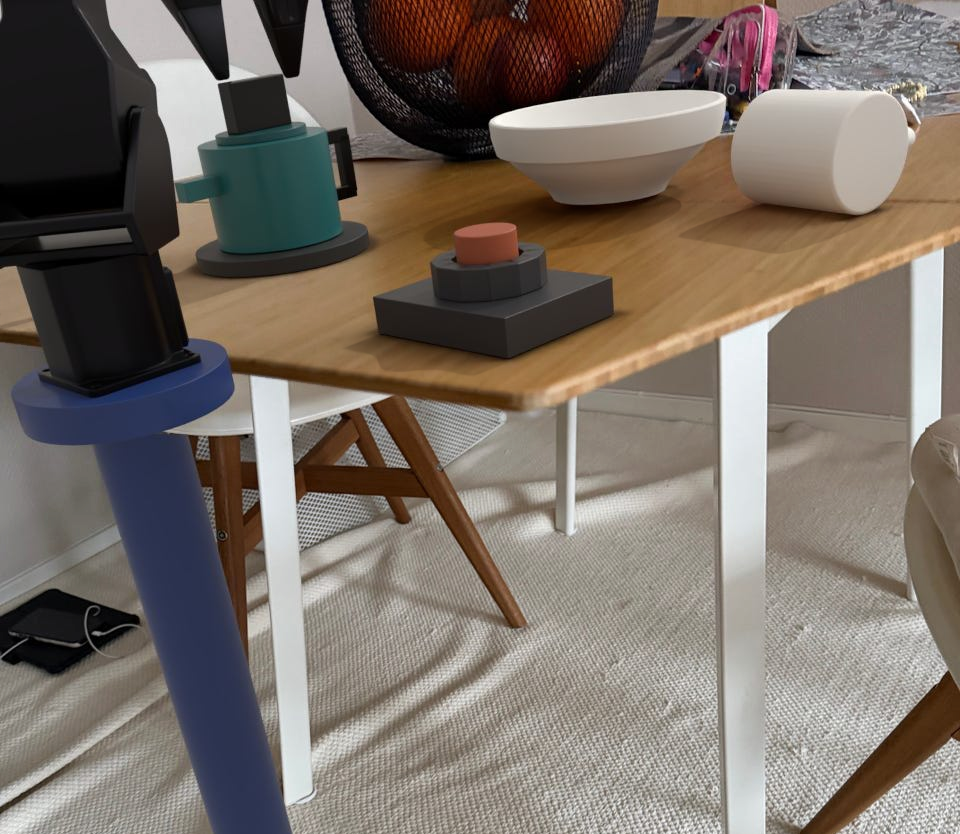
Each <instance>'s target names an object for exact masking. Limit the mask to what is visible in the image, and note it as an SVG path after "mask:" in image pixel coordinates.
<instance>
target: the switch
mask: <svg viewBox="0 0 960 834" xmlns="http://www.w3.org/2000/svg"><path fill="white" fill-rule="evenodd" d="M453 241H454V249H455V251H456V259H457V263H458V264H466V265H472V264H489V263H494V262H500V261H506V260H510V259H513V258H516V257H519V252H518V242H519V241H518V231H517V226H516V225H515V224H513V223H510V222H486V223H478V224H472V225H467V226H465V227H462V228H459V229H457V230H455V231H454V232H453Z"/></svg>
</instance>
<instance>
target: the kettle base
mask: <svg viewBox="0 0 960 834" xmlns="http://www.w3.org/2000/svg"><path fill="white" fill-rule="evenodd" d="M341 221H342V227H343V231H342V232H341V233H340V234H339V235H337V236H335V237H333V238H331V239H329V240H326V241H323V242H320V243H316V244H312V245H308V246H304V247H299V248H294V249H288V250H282V251H275V252H265V253H249V254H241V253H229V252H225V251H222V250H221V249H220V247H219V243H218V238H217V239H215V240H212V241H209V242H207V243H206V244H204V245H202V246H200V247H199V248H198V249H197V250H196V251H195V259H196V264H197V267H198V270H199V271H200V273H202V274H204V275H207V276H212V277H219V278H254V277H255V278H256V277H266V276H277V275H284V274H289V273H290V274H291V273H296V272H301V271H307V270H311V269H316V268H320V267H324V266H329V265H332V264H335V263H338V262H341V261H344V260H347V259H350V258H351V257H355V256H357V255H359V254H361V253H362V252H364V251H365V250H367V249H368V248H369V247H370V243H371V241H370V235H369V234H370V233H369V229H368V226H367V225H365V224H364V223H361V222H357V221H352V220H341Z"/></svg>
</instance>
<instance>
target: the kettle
mask: <svg viewBox="0 0 960 834" xmlns="http://www.w3.org/2000/svg"><path fill="white" fill-rule="evenodd" d="M217 90H218V94H219V98H220V99H219V100H220V103H221V104H220V105H221V108H222V112H223V117H224V122H225V126H226V130H225V131H222V132H219V133H216V134H215V136H214V138H215V139H211V140H209V141H205V142H203V143H200V144H199V145H197V147H196V149H197V152H198V157H199V161H200V167H201V169H202V170H201V171H202V176H198V177H193V178H189V179H184V180H180V181H174V187H175V193H176V197H177V200H178V203H181V204H192V203H196V202H200V201H203V200H207V199H208V202H209V206H210V211H211V215H212V220H213V224H214V230H215V234H216V237H217V239H218V243H219V247H220V249H221V250H222V251H225V252H229V253H241V254H249V253H265V252H275V251H282V250H288V249H294V248H299V247H304V246H308V245H312V244H316V243H320V242H323V241H326V240H329V239H331V238H333V237H335V236H337V235H339V234H340V233H341V232H342V231H343V227H342V221H343V220H342V215H341V210H340V203H339V202H340V201H344V200H349V199H351V198H354V197H358V184H357V177H356V171H355V164H354V159H353V152H352V145H351V139H350V134H349V131H348V127H347V126H338V127H333V128H329V129H327V128H325V127H322V126H307V124H306V122H304V121H292V116H291V111H290V104H289V100H288V94H287V89H286V83H285V77H284V75H283V73H270V74H263V75H258V76H252V77H246V78H242V79H241V78H240V79H236V80H230V81H224V82H219V83H217ZM331 145H333V146H334V153H335V159H336V166H337V170H338V177H339V184H340V185H336V178H335V173H334V168H333V163H332V162H333V161H332V156H331V149H330V146H331Z"/></svg>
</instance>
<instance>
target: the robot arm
mask: <svg viewBox="0 0 960 834" xmlns="http://www.w3.org/2000/svg"><path fill="white" fill-rule="evenodd" d="M160 1H161V2H162V4H163V5H164V7H165V8H166V9H167V11H168V13H170V15H171V17H173V19H174V20H175V21H176V23H177V24H178V25H179V27H180V28H181V30H182V32H183V33H184V34H185V36H186V38H187V39H188V40H189V41H190V43H191V45H192V46H193V48H194V49H195V51H196V52H197V54H198V55H199V57H200V58H201V59H202V61H203V63H204V64H205V65H206V67H207V68H208V70H209V71H210V73H211V75H212V76H213V78H214V79H215V80H216V81H218V82H219V81H227V80H229V79H230V77H231V73H230V58H229V50H228V49H229V48H228V42H227V34H226V27H225V19H224V18H225V17H224V12H223V3H222V0H160ZM309 1H310V0H252V2H253V4H254V7H255V9H256V11H257V14H258V16H259V20H260V22H261V25H262V27H263V29H264V32H265V35H266V37H267V39H268V42H269V45H270V48H271V50H272V52H273V54H274V58H275V60H276V62H277V64H278V66H279V68H280V70H281V72H282V74H283V77H284V79H293V78H298V77H299V76H300V73H301V66H302V65H301V64H302V58H303V57H302V56H303V47H304V38H305V29H306V20H307V13H308V6H309ZM0 15H1V17H0V270H3V268H10V267H16V270H17V273H18V276H19V279H20V283H21V286H22V288H23V292H24V295H25V298H26V302H27V305H28V308H29V311H30V313H31V317H32V320H33V323H34V327H35V329H36V332H37V336H38V338H39V342H40V345H41V348H42V351H43V355H44V358H45V360H46V363H47V364H46V365H48V368H44V369H42V370H39V371H38V372H37V373H38V376H39V379H40V380H41V381H43V382H46V383H49V384H52V385H55V386H58V387H61V388H63V389H66V390H69V391H72V392H75V393H78V394H81V395H83V396H86V397H89V398H97V397H102V396H105V395H108V394H111V393H114V392H116V391H119V390H122V389H125V388H128V387H131V386H134V385H137V384H140V383H143V382H146V381H149V380H151V379H154V378H157V377H160V376H163V375H166V374H169V373H172V372H175V371H178V370H181V369H183V368H186V367H189V366H192V365H195V364H198V363H200V362H201V361H202V360H201V356H200V353H199V352H195V351H192V350H188V349H184V347H187V346H188V344H189V338H190V337H189V334H188V329H187V326H186V322H185V318H184V314H183V310H182V306H181V302H180V298H179V294H178V290H177V287H176V281H175V278H174V275H173V271H172V269H171V268H170V267H167V266H164V265H163V263H162V259H161V254H160V250H161V249H163V248H164V247H166V246H167V245H168V244H170V243H171V242H173V241H175V240H176V239H177V238H179V237H180V235H181V231H180V223H179V214H178V206H177V205H178V204H177V195H176V188H175V184H174V183H175V179H174V172H173V163H172V153H171V146H170V142H169V138H168V134H167V130H166V127H165V125H164V123H163V120H162V118H161V116H160V115H159V107H158V95H157V92H158V91H157V86H156V84H155V82H154V81H153V79H152V77H151V75H150V74H149V72H148V71H147V70H146V69H145V68H143V67H140V66H139V65H138V63H137V62H136V61H135V59H134V58H133V57H132V56H131V54H130V52H129V51H128V50H127V48H126V47H125V45H124V44H123V43H122V41H121V40H120V39H119V37H118V36H117V35H116V32H114V30H113V29H112V27H111V25H110V24H111V23H110V19H109V15H108V6H107V0H0Z"/></svg>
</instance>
